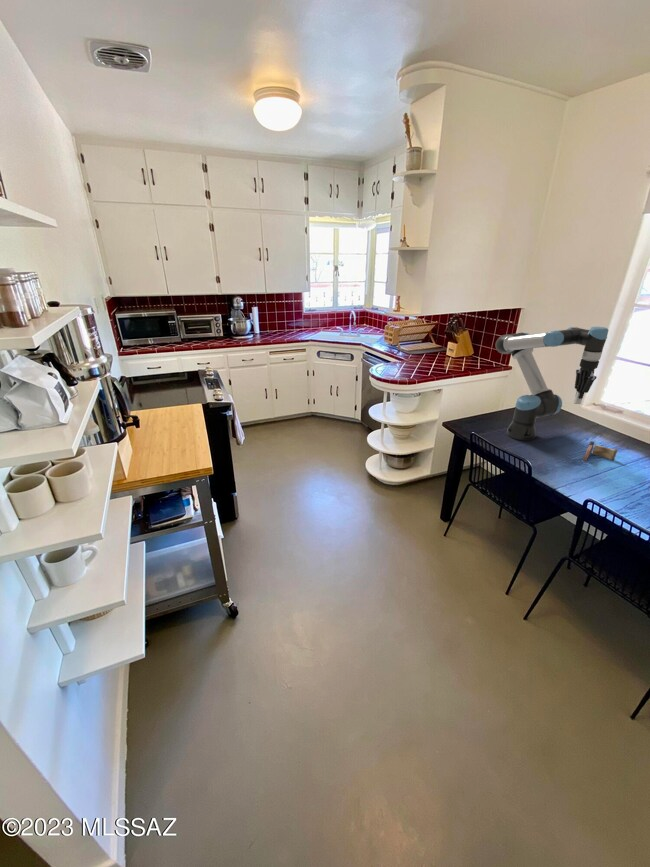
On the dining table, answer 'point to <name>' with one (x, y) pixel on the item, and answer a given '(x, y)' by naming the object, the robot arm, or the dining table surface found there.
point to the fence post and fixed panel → (603, 451)
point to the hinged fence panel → (588, 452)
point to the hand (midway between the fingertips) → (577, 403)
